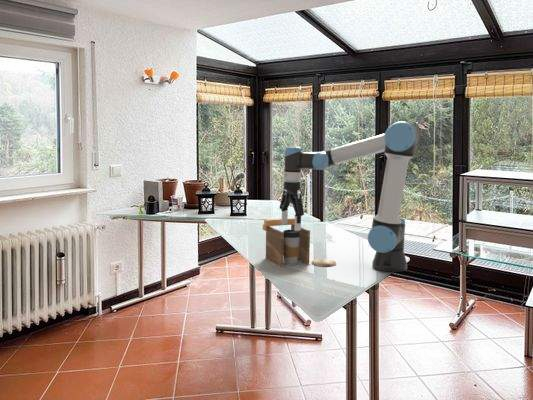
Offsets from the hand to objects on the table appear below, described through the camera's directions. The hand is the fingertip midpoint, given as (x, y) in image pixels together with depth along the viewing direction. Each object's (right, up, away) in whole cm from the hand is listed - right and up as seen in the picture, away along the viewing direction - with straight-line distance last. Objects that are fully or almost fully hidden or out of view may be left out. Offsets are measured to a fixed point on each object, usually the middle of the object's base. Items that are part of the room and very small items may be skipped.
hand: (290, 227), depth 230 cm
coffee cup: (0, -17, +2) cm, 17 cm away
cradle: (-2, -16, +6) cm, 17 cm away
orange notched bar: (-4, -1, +10) cm, 11 cm away
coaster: (+15, -17, +2) cm, 23 cm away
